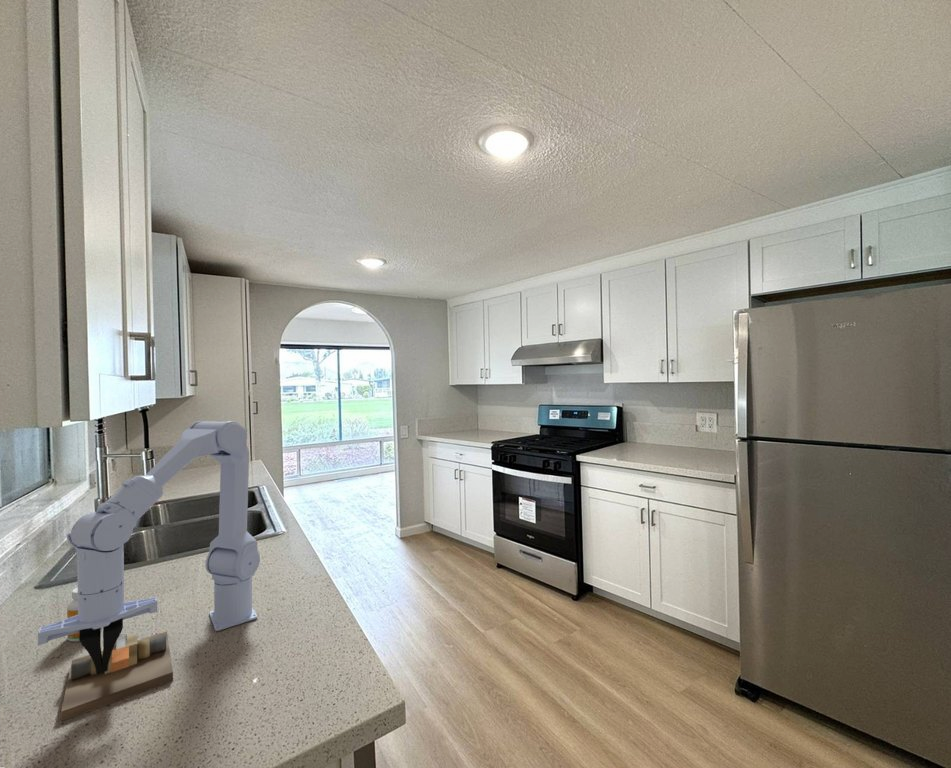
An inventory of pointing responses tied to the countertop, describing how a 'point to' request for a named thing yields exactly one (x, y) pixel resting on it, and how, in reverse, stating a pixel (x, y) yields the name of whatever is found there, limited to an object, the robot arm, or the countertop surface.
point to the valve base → (117, 676)
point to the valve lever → (120, 654)
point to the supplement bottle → (73, 613)
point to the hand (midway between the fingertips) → (102, 669)
